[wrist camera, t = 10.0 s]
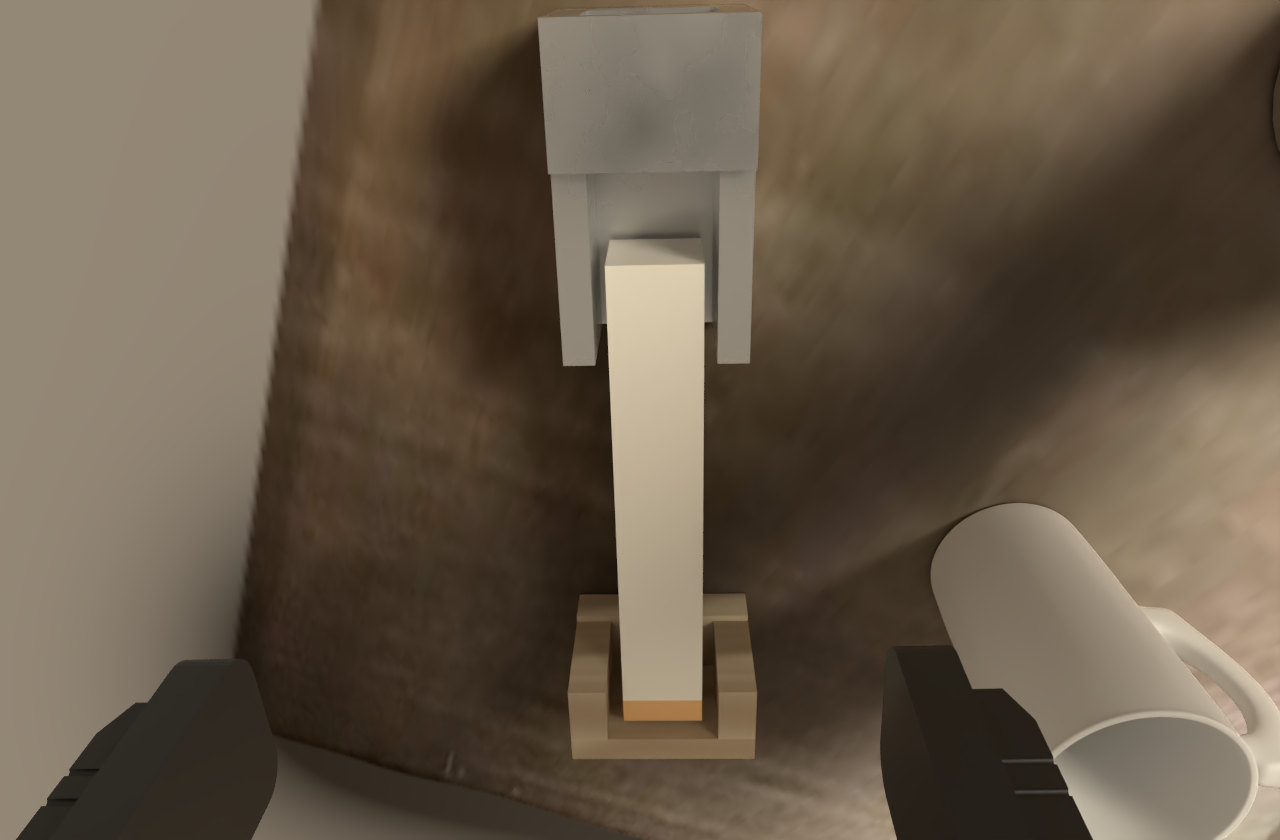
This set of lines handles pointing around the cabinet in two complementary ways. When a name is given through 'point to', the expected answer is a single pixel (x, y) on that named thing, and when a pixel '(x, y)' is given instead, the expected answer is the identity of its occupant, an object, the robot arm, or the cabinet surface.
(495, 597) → the cabinet surface
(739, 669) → the socket
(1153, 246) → the cabinet surface
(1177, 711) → the mug
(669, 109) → the grey slotted channel block
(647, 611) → the cream square bar
